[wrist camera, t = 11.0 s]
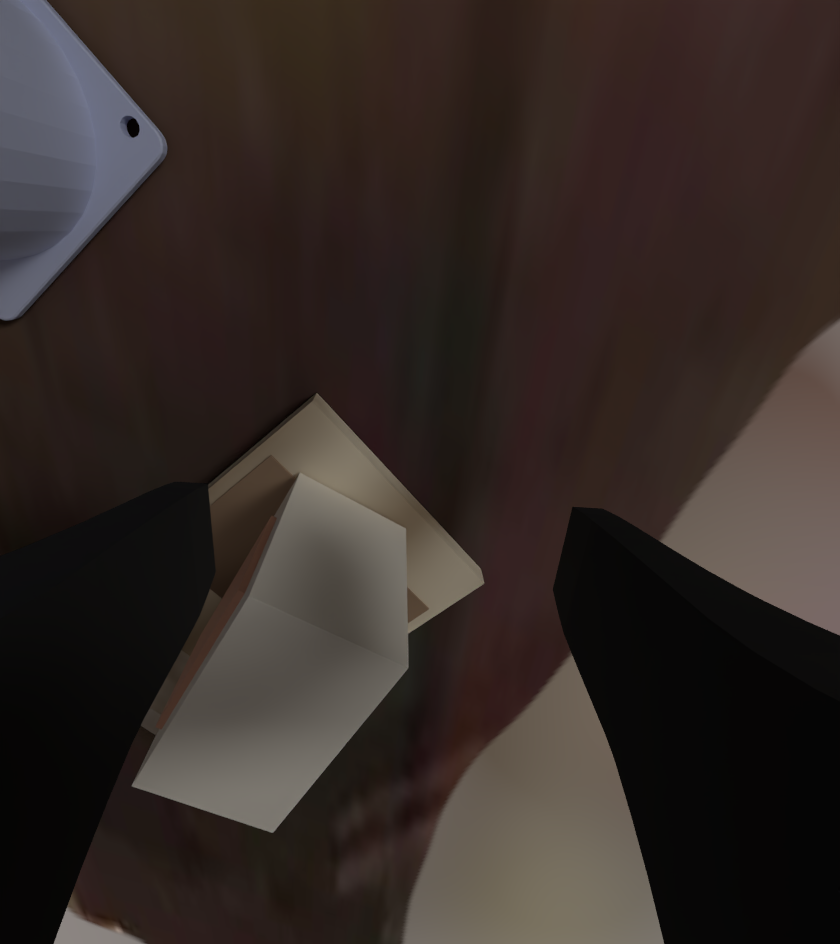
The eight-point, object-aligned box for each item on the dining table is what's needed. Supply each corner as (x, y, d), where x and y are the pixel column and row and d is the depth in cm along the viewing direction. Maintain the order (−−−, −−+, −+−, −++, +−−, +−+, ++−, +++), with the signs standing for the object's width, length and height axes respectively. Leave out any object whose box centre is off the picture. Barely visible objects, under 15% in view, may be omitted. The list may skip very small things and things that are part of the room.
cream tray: (88, 585, 22) (27, 656, 18) (316, 392, 19) (296, 432, 15) (263, 713, 25) (240, 794, 22) (480, 569, 22) (496, 635, 19)
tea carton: (206, 620, 22) (124, 784, 15) (295, 469, 19) (241, 592, 12) (308, 664, 23) (272, 833, 16) (406, 528, 20) (408, 667, 14)
